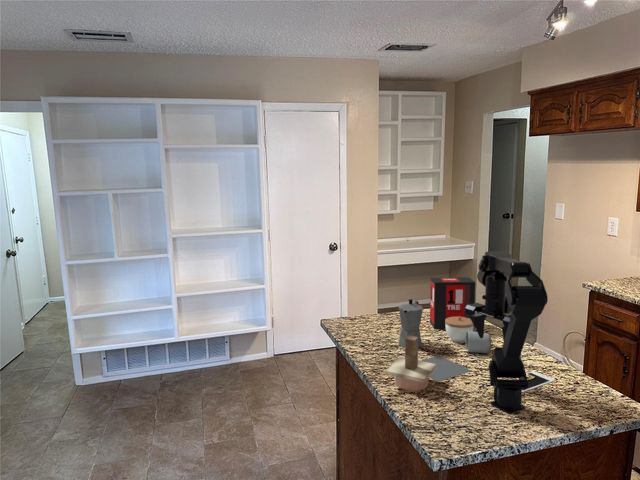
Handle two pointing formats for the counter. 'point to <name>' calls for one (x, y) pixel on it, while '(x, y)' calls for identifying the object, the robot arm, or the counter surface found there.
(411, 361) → the square lid with knob
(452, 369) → the rubber mat
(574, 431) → the counter surface
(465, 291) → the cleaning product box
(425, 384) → the terracotta bowl
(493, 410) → the counter surface
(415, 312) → the coffeepot
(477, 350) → the ceramic mug
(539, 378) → the cell phone
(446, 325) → the lidded jar
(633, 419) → the counter surface
